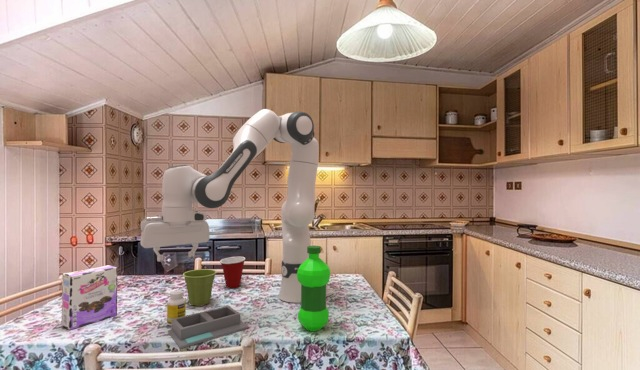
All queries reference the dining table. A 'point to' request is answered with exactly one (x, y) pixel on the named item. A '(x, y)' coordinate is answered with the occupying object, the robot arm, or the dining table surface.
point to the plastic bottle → (313, 290)
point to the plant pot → (199, 285)
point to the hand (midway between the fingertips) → (176, 259)
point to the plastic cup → (233, 271)
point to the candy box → (89, 296)
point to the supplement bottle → (176, 306)
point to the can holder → (205, 326)
